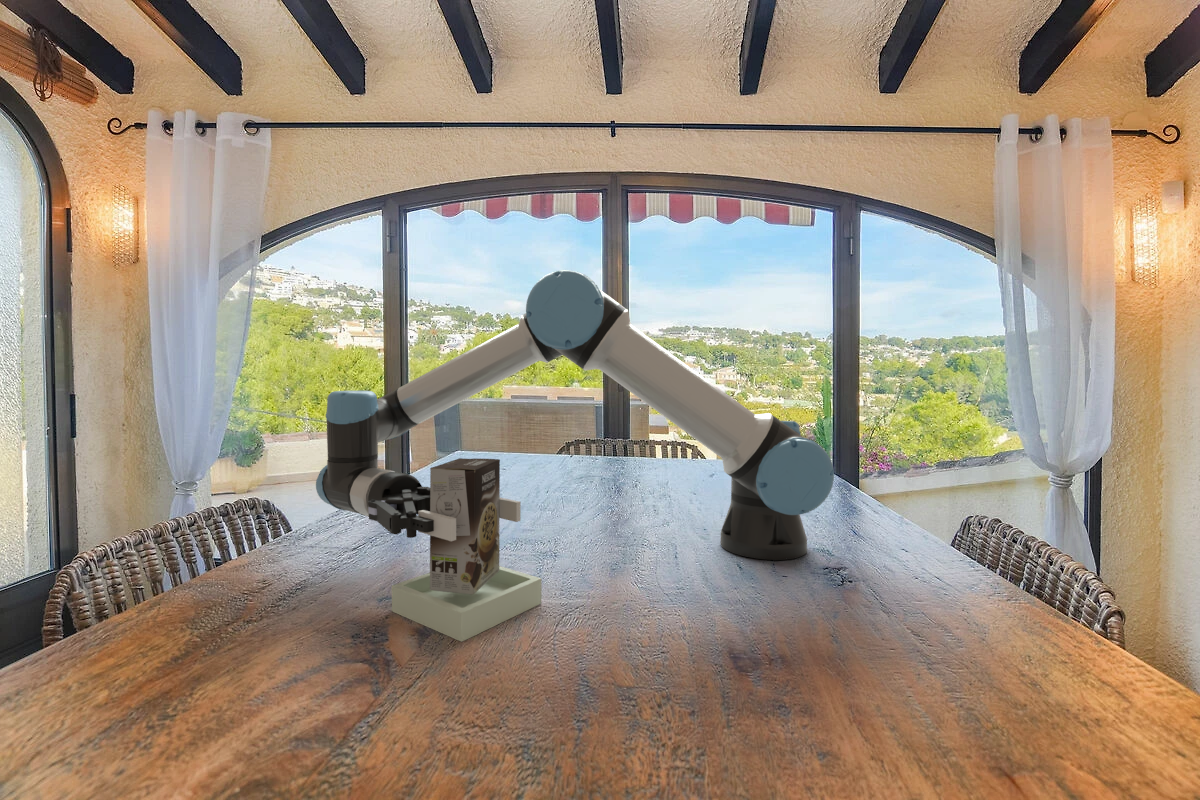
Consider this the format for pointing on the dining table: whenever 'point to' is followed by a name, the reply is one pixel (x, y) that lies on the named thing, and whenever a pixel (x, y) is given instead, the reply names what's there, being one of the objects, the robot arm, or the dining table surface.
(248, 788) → the dining table surface
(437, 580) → the coffee box
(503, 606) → the tray
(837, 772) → the dining table surface
